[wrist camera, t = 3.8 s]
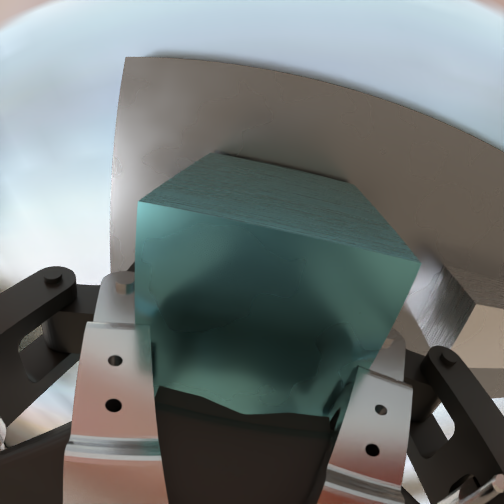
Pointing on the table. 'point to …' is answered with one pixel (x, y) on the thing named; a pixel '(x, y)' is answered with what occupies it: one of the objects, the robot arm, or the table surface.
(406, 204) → the base
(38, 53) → the table surface
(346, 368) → the block
